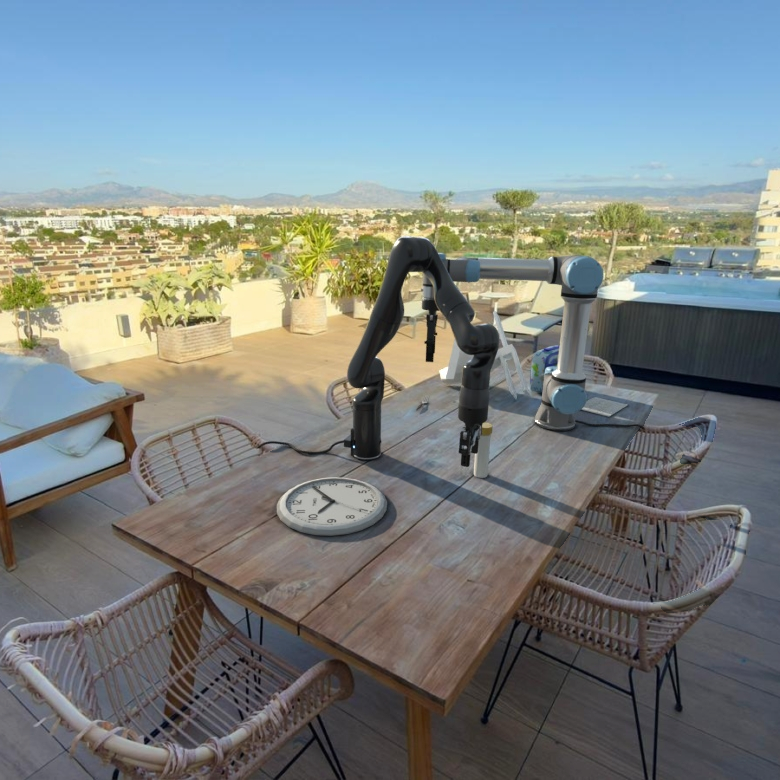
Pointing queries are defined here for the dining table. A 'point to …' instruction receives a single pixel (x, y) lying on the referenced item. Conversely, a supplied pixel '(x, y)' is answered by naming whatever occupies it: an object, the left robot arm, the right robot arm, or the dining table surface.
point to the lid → (486, 428)
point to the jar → (482, 457)
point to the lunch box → (542, 366)
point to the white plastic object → (504, 354)
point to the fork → (422, 403)
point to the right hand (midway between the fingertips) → (430, 357)
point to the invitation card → (603, 406)
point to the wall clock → (331, 506)
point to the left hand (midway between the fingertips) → (469, 459)
